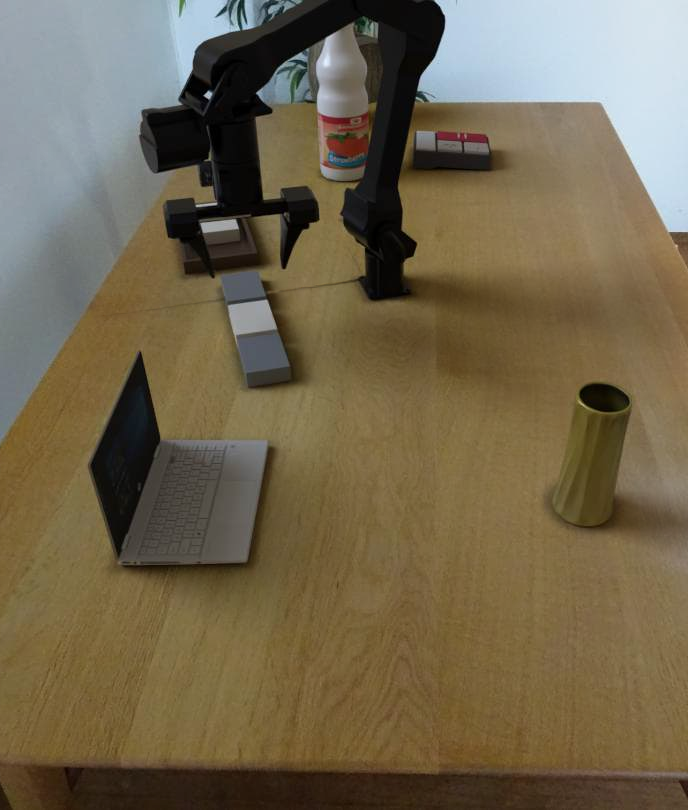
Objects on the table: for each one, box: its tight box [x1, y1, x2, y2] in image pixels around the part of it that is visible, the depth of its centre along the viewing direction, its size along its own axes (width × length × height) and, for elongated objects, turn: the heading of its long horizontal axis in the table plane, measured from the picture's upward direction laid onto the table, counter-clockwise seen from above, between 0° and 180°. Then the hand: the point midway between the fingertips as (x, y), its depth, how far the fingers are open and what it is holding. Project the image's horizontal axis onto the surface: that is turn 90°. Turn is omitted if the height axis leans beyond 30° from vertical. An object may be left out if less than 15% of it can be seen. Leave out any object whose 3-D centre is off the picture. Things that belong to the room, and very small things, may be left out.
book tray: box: [177, 200, 260, 275], centre depth 131 cm, size 21×11×2 cm, turn 17°
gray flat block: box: [236, 332, 292, 388], centre depth 103 cm, size 8×6×2 cm
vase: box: [552, 380, 633, 527], centre depth 79 cm, size 6×6×14 cm
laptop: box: [87, 349, 270, 566], centre depth 80 cm, size 18×12×13 cm
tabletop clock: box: [306, 24, 383, 105], centre depth 172 cm, size 14×9×25 cm, turn 130°
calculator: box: [412, 130, 492, 171], centre depth 160 cm, size 11×4×15 cm
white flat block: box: [227, 299, 279, 349], centre depth 110 cm, size 8×6×2 cm
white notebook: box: [190, 219, 240, 247], centre depth 131 cm, size 8×6×2 cm
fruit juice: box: [316, 21, 370, 182], centre depth 147 cm, size 9×9×28 cm
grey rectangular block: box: [219, 269, 268, 314], centre depth 117 cm, size 8×6×2 cm
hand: (248, 272), depth 106 cm, fingers open, 9 cm apart
